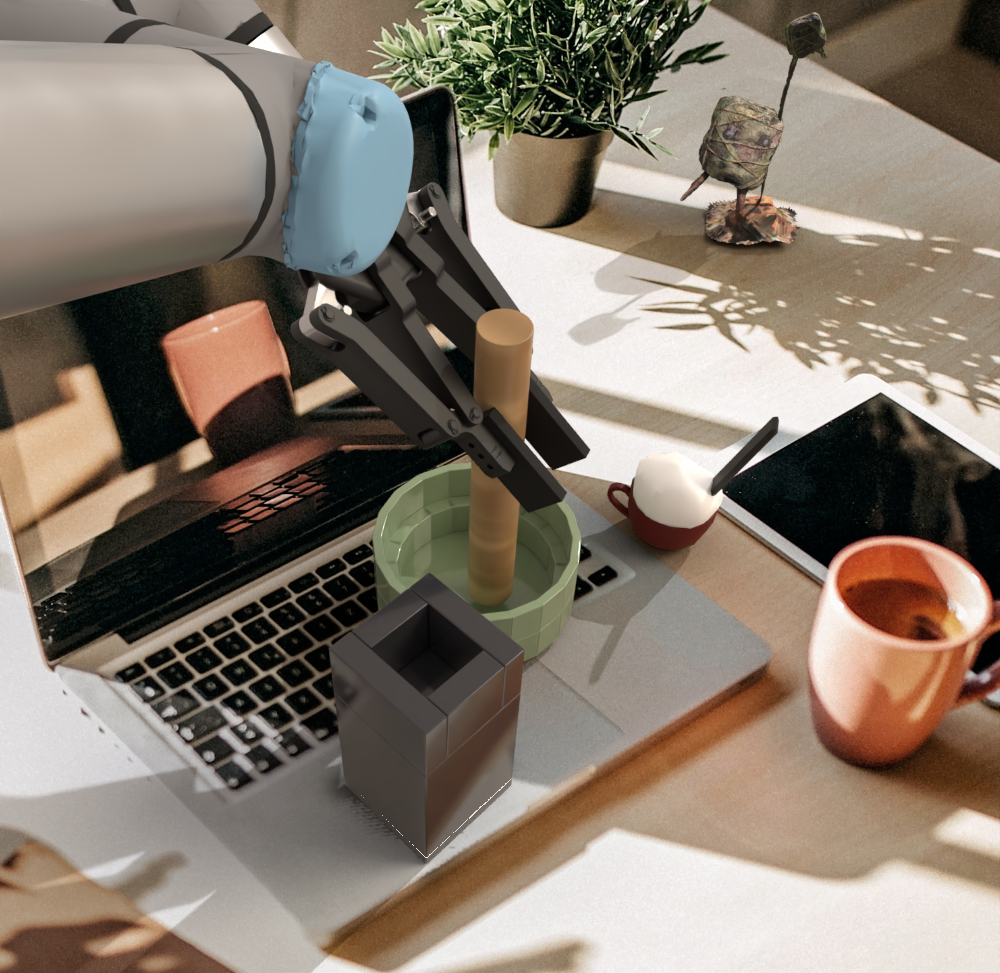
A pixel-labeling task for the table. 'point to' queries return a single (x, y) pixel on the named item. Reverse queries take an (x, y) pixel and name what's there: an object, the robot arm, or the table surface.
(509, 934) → the table surface
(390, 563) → the bowl
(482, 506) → the stirring stick
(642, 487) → the cocoa
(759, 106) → the bird figurine
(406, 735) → the box
